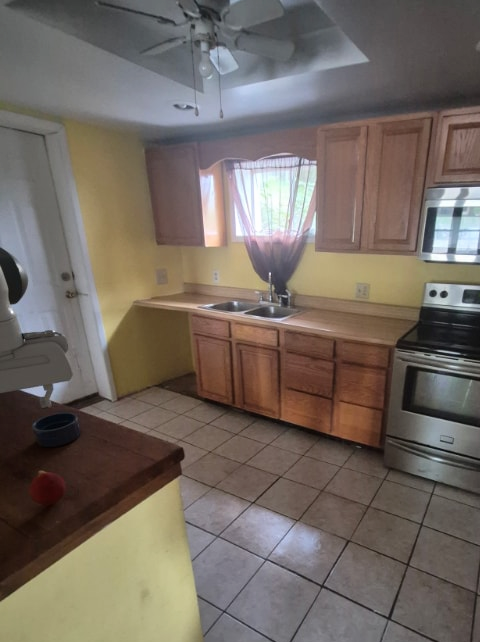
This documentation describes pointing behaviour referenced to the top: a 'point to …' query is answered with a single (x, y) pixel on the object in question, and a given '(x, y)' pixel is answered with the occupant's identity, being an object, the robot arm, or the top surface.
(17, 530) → the top surface
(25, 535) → the top surface
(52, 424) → the bowl
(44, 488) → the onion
